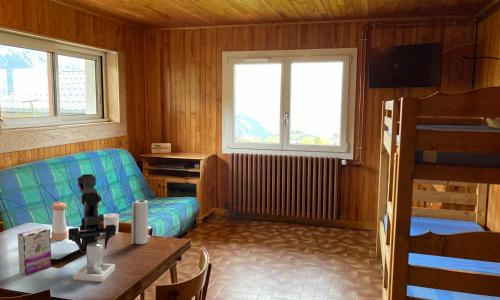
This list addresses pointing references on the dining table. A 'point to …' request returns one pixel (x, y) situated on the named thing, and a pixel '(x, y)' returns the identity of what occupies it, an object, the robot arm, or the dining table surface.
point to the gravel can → (95, 258)
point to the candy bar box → (34, 250)
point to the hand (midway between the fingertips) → (93, 250)
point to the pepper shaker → (58, 221)
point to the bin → (83, 275)
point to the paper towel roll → (139, 222)
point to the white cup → (111, 220)
